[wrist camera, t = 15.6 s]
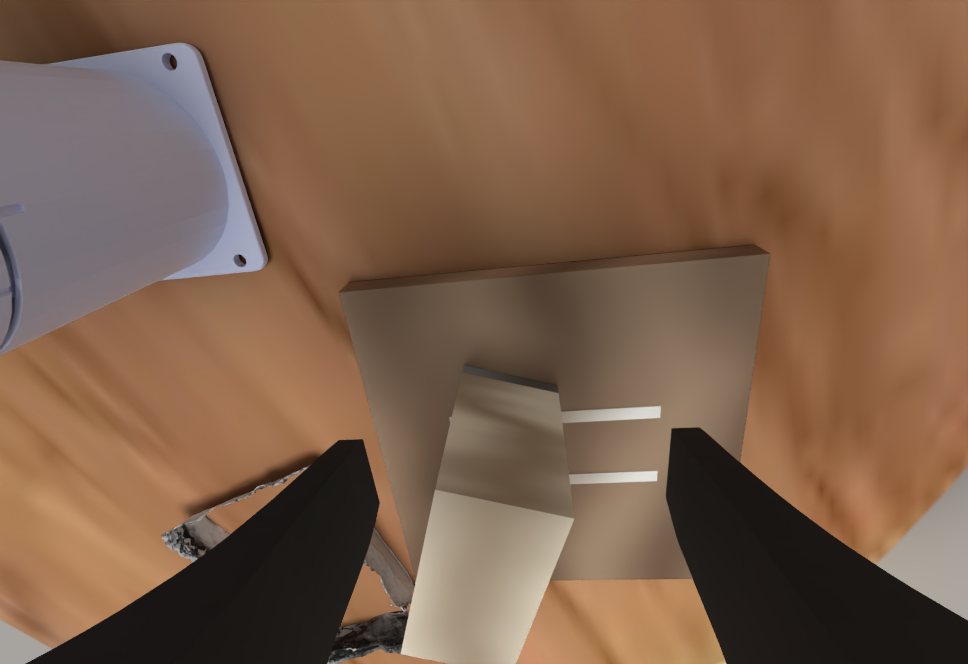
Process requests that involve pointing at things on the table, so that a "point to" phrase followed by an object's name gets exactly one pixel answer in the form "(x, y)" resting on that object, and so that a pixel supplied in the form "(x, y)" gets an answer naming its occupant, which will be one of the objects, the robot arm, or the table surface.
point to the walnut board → (570, 381)
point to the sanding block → (492, 522)
